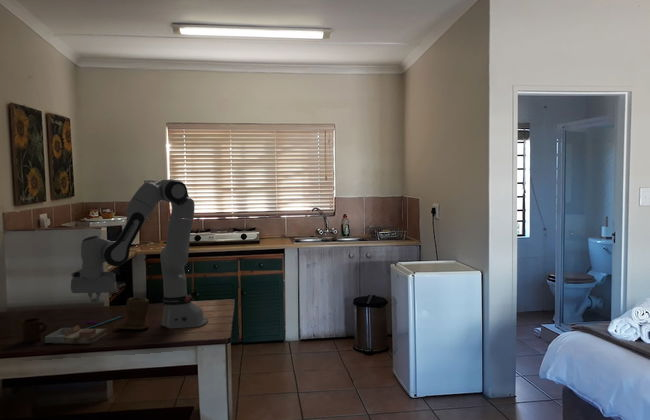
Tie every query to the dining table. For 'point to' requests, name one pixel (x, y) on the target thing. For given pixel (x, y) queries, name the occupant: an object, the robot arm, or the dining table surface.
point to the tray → (56, 336)
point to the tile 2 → (87, 332)
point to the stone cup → (135, 314)
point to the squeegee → (101, 323)
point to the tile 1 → (71, 330)
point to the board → (76, 339)
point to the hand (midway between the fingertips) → (95, 302)
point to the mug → (33, 330)
